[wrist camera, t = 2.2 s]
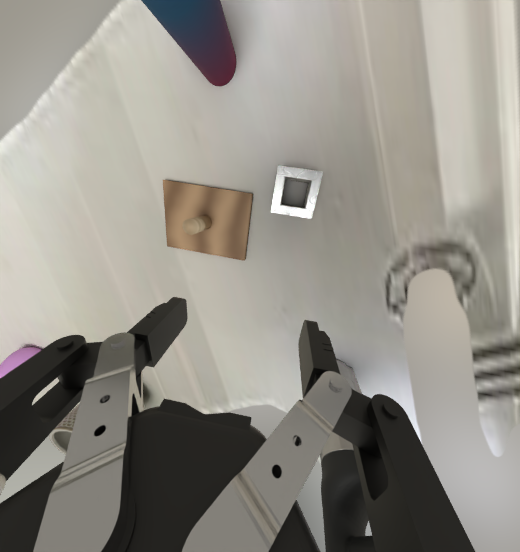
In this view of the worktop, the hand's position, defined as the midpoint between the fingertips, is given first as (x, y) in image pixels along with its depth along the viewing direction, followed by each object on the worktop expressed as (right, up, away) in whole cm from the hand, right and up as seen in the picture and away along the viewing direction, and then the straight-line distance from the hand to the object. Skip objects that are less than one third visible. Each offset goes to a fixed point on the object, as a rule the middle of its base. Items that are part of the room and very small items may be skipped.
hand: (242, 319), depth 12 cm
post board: (-9, +13, +22) cm, 27 cm away
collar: (+7, +17, +18) cm, 26 cm away
